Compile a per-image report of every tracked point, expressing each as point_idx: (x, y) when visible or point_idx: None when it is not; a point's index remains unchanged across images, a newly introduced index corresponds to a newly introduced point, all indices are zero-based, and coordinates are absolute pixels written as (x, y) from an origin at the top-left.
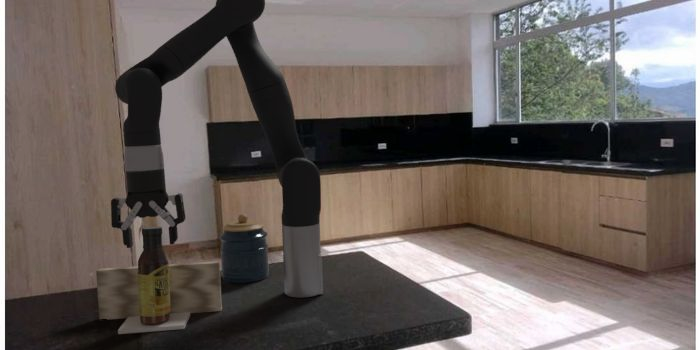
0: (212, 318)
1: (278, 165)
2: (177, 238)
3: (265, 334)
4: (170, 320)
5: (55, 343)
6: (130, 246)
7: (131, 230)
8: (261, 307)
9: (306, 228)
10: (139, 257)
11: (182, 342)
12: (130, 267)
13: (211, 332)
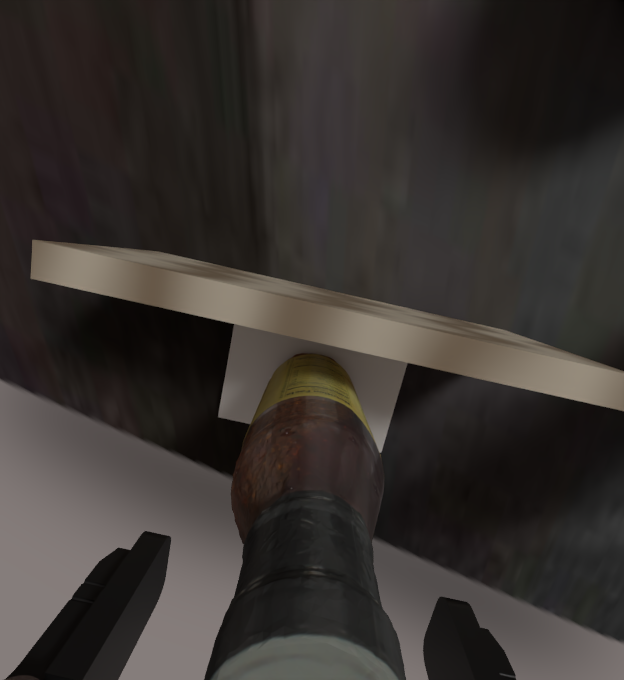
0: (460, 401)
1: None
2: (497, 648)
3: (548, 557)
4: None
5: (81, 409)
6: (159, 591)
7: (95, 661)
8: None
9: None
10: (234, 512)
11: None
12: (195, 292)
13: (437, 495)
